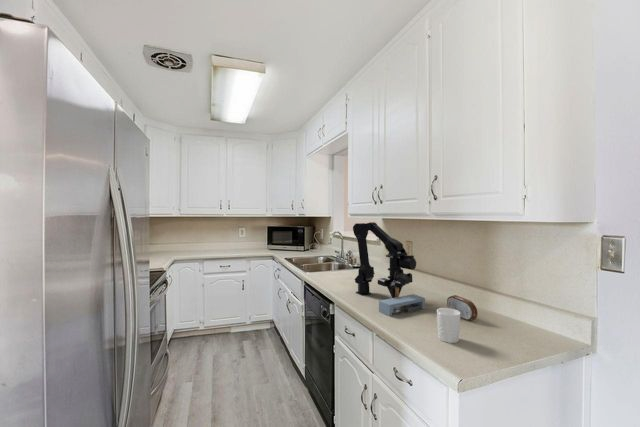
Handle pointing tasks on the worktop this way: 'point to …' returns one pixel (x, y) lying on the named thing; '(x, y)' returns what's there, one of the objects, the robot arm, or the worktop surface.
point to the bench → (400, 303)
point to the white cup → (448, 324)
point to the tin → (463, 307)
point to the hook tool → (411, 306)
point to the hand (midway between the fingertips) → (395, 297)
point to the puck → (396, 310)
